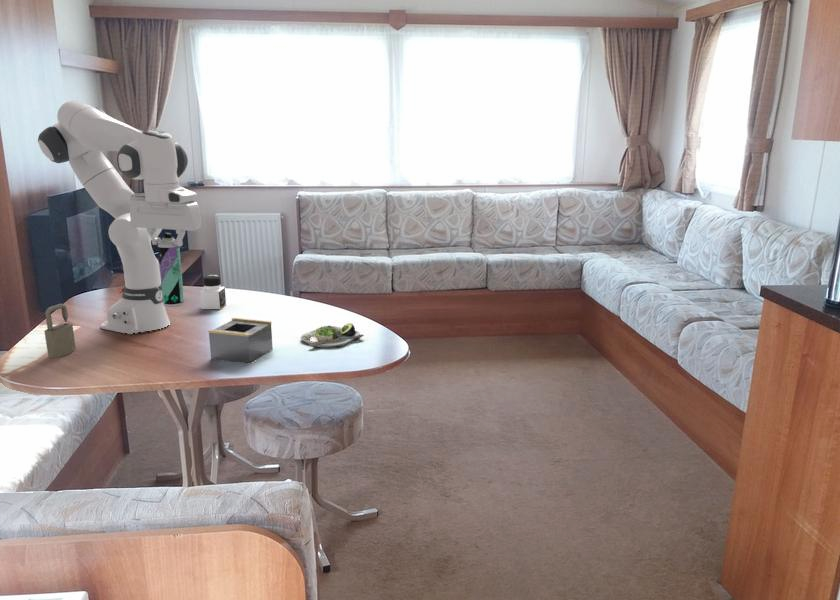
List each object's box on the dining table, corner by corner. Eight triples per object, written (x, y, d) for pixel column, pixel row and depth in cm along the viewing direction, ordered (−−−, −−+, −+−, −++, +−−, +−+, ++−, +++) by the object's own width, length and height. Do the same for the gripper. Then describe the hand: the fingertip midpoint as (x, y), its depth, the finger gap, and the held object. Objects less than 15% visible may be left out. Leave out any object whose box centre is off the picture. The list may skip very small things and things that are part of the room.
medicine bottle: (220, 310, 245) (218, 278, 242) (201, 309, 245) (198, 278, 242) (226, 304, 252) (224, 273, 249) (207, 304, 252) (204, 273, 249)
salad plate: (330, 355, 200) (330, 341, 198) (287, 344, 209) (286, 330, 208) (369, 338, 215) (369, 324, 214) (327, 329, 225) (327, 315, 223)
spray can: (166, 302, 187) (160, 231, 182) (186, 301, 188) (180, 231, 183) (160, 307, 182) (154, 234, 177) (181, 306, 182) (175, 234, 177)
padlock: (78, 349, 203) (71, 302, 199) (57, 358, 196) (49, 309, 192) (67, 348, 204) (60, 301, 200) (46, 357, 197) (38, 308, 193)
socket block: (210, 359, 195) (208, 330, 193) (235, 345, 208) (233, 317, 205) (250, 364, 192) (248, 334, 189) (273, 349, 204) (271, 321, 202)
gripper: (121, 193, 176) (127, 245, 180) (188, 196, 171) (192, 249, 175) (137, 191, 182) (143, 241, 186) (202, 193, 177) (206, 245, 180)
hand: (167, 245), depth 180 cm, fingers closed on spray can, 5 cm apart
